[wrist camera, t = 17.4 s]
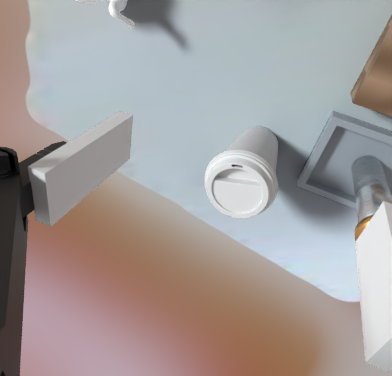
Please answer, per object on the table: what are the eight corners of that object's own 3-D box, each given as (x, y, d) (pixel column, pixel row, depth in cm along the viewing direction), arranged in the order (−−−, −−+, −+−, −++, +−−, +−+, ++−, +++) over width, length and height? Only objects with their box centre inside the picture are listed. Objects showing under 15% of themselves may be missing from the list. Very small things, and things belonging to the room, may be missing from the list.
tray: (332, 110, 45) (333, 116, 43) (449, 151, 43) (455, 159, 41) (297, 178, 52) (296, 186, 50) (396, 216, 50) (399, 226, 48)
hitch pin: (358, 147, 46) (371, 211, 32) (393, 159, 45) (421, 231, 32) (341, 175, 49) (346, 245, 35) (374, 187, 48) (392, 264, 35)
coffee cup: (300, 133, 49) (290, 180, 37) (271, 181, 54) (254, 235, 42) (243, 106, 49) (215, 143, 37) (220, 156, 55) (190, 202, 43)
